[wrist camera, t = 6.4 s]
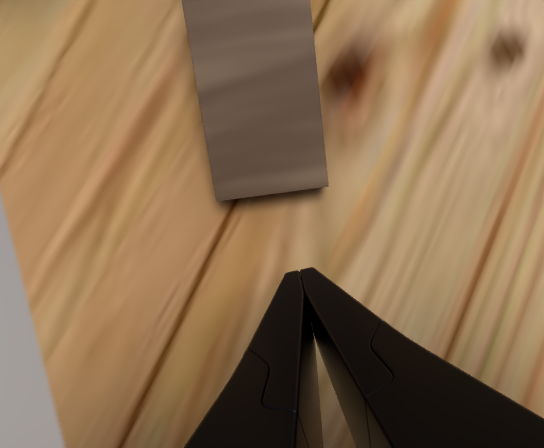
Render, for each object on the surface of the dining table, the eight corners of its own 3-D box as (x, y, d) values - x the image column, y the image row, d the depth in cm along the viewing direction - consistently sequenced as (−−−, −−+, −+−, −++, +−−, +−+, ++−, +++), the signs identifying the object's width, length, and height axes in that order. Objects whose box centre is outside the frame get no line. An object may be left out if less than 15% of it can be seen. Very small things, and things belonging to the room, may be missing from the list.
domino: (328, 186, 16) (302, -75, 14) (216, 201, 16) (172, -55, 14) (323, 181, 18) (299, -55, 16) (221, 195, 18) (182, -36, 16)
